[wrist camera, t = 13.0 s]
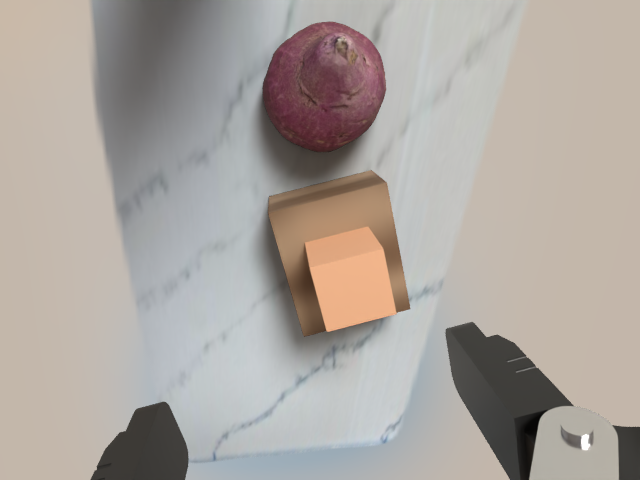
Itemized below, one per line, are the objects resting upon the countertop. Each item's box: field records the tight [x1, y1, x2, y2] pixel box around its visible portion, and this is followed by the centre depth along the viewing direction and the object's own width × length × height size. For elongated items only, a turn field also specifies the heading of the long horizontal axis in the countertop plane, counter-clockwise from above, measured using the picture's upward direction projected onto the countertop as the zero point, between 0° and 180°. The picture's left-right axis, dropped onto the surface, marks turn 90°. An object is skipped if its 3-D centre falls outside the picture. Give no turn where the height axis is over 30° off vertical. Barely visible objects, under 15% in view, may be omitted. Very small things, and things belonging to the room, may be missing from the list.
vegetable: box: [263, 22, 386, 152], centre depth 32 cm, size 10×10×15 cm
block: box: [305, 227, 396, 332], centre depth 35 cm, size 6×6×6 cm
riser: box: [268, 170, 410, 337], centre depth 40 cm, size 12×10×6 cm
